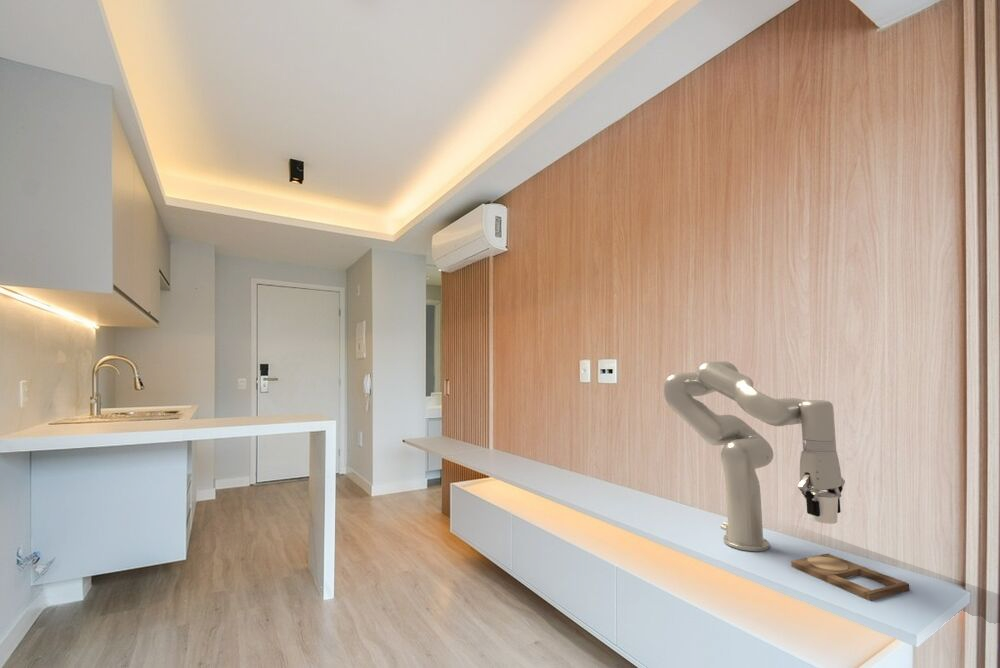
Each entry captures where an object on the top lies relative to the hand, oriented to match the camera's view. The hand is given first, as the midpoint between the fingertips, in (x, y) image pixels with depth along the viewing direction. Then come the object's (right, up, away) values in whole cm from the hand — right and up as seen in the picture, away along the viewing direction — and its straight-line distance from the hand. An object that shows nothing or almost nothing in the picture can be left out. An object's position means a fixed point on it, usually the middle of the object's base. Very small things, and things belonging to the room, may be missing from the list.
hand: (823, 512), depth 126 cm
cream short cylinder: (0, -2, 0) cm, 2 cm away
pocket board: (+2, -15, -6) cm, 16 cm away
